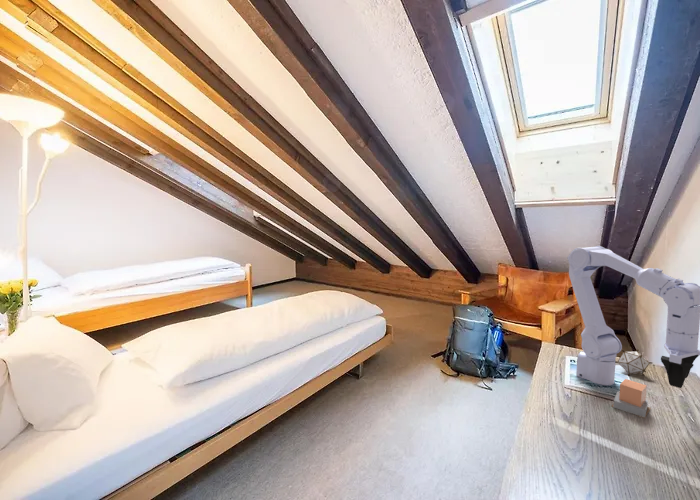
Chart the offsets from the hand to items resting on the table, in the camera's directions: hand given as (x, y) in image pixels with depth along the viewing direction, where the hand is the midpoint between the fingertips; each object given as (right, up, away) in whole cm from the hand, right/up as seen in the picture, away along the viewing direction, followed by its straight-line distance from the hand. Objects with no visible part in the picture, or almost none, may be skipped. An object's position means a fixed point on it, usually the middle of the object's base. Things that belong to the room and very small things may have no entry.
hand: (678, 381), depth 82 cm
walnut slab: (-8, -11, +5) cm, 15 cm away
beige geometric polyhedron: (+10, -8, +24) cm, 27 cm away
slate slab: (-9, -9, +5) cm, 13 cm away
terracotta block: (-8, -7, +4) cm, 12 cm away
